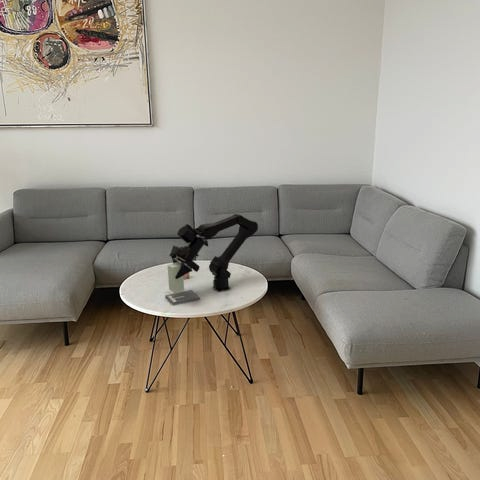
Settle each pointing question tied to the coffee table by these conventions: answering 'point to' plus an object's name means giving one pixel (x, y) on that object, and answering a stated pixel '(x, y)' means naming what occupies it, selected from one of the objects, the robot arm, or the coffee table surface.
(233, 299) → the coffee table surface
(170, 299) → the board
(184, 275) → the grandmother figurine
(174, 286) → the sage block
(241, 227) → the robot arm
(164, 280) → the coffee table surface
